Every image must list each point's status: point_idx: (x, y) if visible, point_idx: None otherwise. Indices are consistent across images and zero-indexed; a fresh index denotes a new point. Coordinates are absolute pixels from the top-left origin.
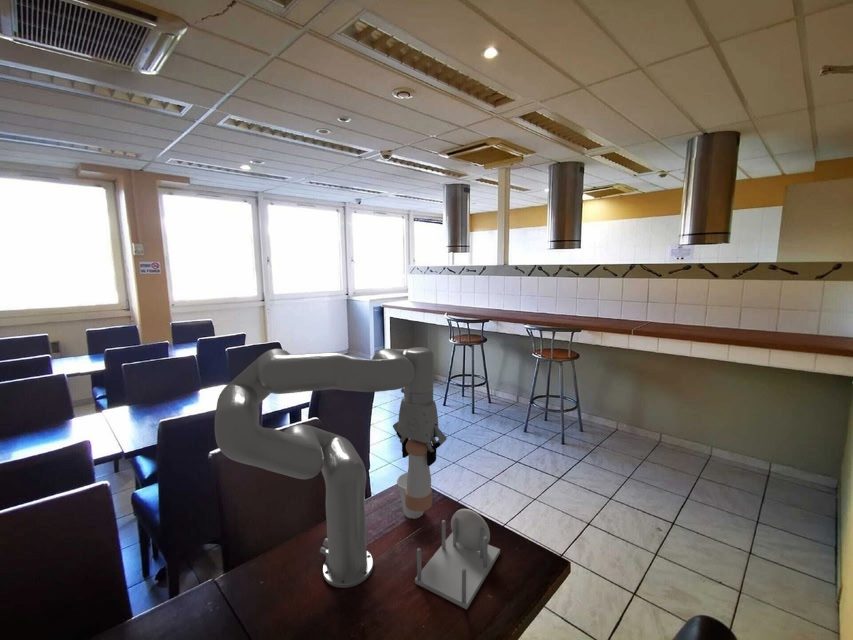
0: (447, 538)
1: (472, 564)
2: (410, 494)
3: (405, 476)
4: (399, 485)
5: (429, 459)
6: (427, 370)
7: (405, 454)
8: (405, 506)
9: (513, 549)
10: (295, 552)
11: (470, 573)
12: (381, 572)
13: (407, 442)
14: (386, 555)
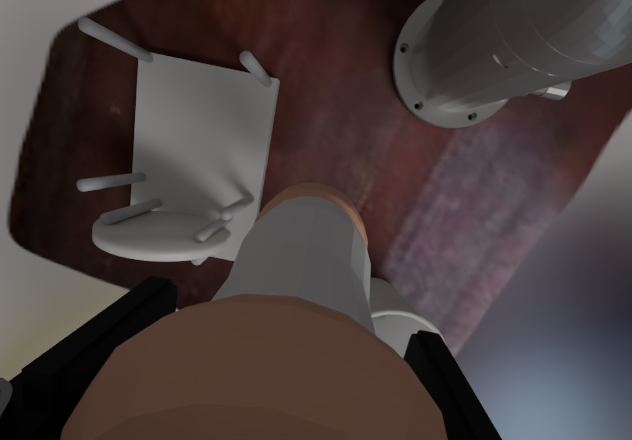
0: None
1: (169, 171)
2: (327, 201)
3: None
4: (427, 321)
5: (111, 310)
6: None
7: (418, 358)
8: (389, 289)
9: (112, 257)
10: None
11: (163, 143)
12: (368, 83)
13: None
14: (379, 139)
